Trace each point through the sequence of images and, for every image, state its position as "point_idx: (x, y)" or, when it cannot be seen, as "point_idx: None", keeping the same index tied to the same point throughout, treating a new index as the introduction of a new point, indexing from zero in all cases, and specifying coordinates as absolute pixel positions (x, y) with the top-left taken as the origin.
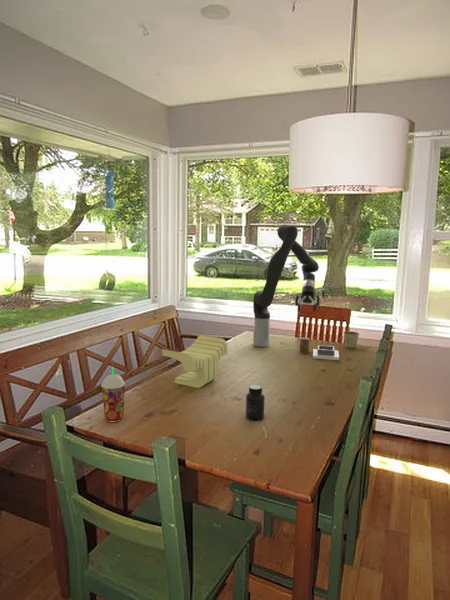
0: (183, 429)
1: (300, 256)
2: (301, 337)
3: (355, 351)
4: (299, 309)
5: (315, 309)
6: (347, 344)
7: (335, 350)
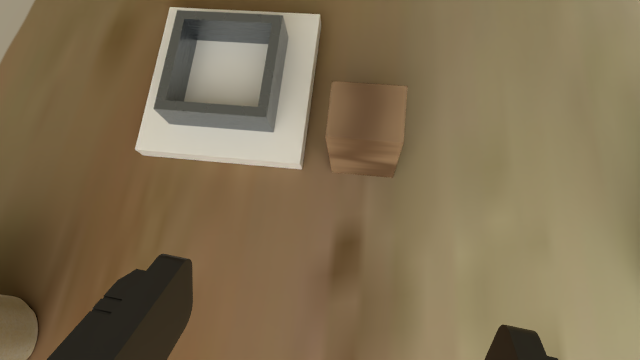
0: None
1: None
2: (395, 136)
3: (15, 215)
4: (517, 330)
5: (128, 283)
6: (16, 306)
7: (151, 149)
